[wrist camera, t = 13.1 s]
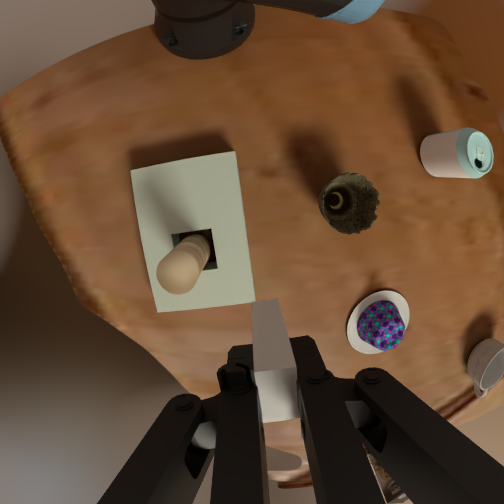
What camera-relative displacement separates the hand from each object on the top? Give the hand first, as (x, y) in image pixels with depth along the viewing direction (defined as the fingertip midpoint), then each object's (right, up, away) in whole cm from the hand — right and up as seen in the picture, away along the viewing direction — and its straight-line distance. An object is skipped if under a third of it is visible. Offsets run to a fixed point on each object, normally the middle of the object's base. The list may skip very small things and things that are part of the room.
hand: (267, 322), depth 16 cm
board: (-9, +7, +25) cm, 28 cm away
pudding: (+21, -8, +30) cm, 37 cm away
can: (+29, +20, +23) cm, 42 cm away
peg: (-8, +5, +26) cm, 28 cm away
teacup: (+51, -21, +33) cm, 64 cm away
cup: (+11, +11, +25) cm, 29 cm away
